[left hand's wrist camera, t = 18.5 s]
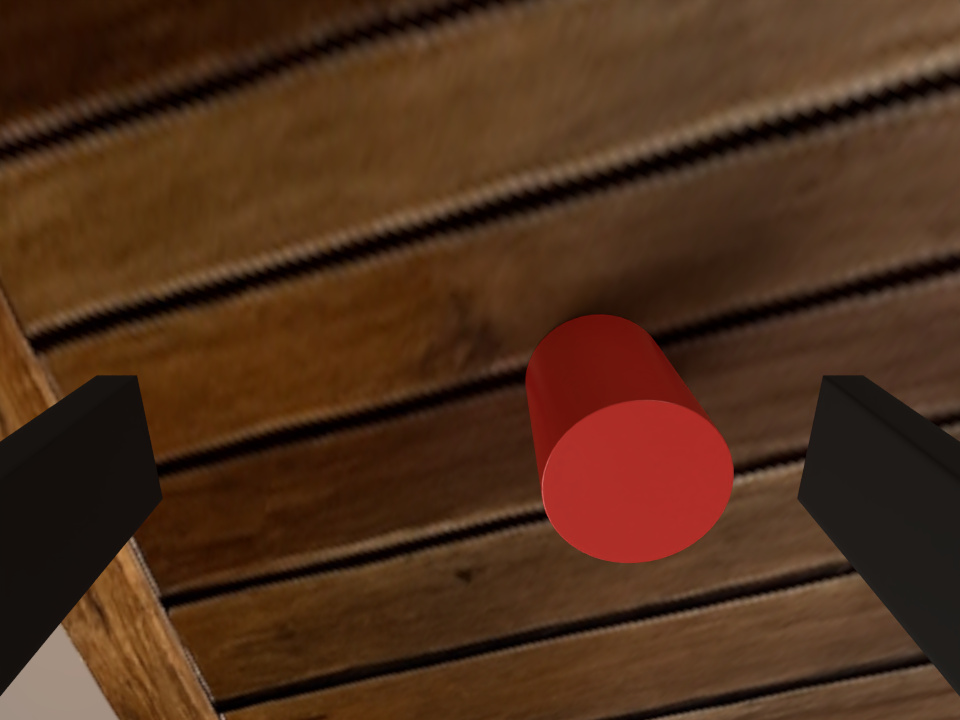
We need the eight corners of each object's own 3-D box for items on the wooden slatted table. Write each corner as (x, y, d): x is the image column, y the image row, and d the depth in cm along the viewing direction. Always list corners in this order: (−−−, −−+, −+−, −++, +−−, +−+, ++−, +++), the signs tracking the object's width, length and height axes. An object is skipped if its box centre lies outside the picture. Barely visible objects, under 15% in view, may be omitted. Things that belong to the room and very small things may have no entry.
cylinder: (691, 348, 32) (772, 444, 23) (621, 460, 34) (670, 587, 25) (565, 291, 31) (598, 369, 22) (502, 410, 33) (509, 525, 24)
